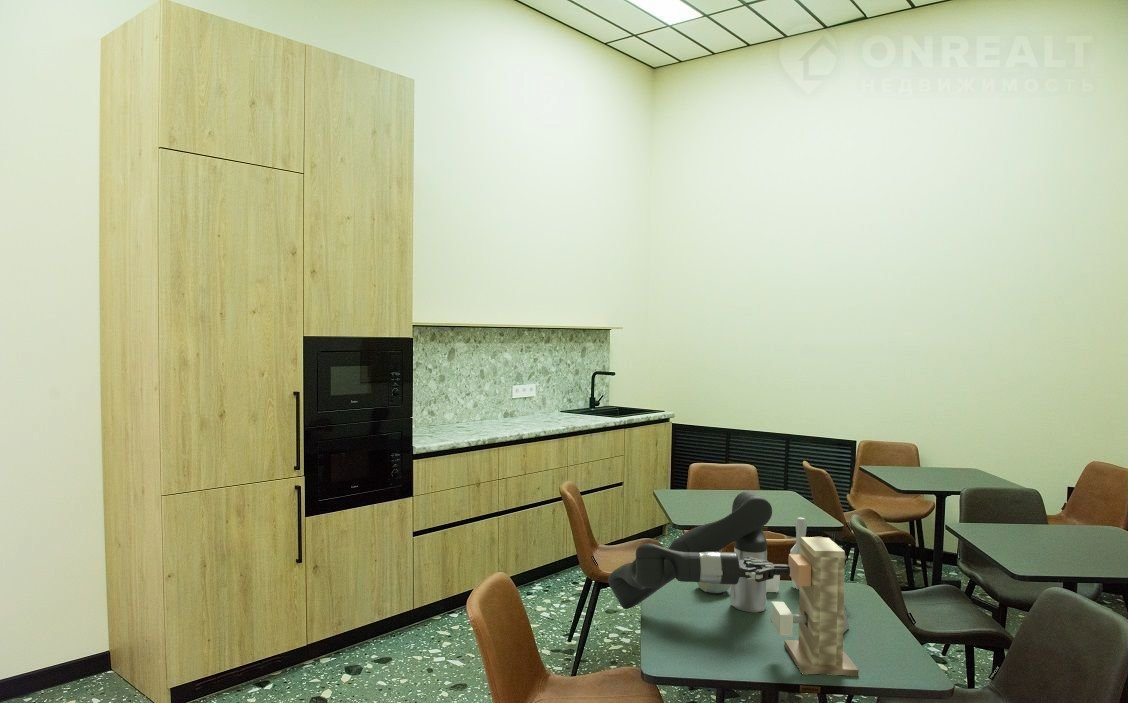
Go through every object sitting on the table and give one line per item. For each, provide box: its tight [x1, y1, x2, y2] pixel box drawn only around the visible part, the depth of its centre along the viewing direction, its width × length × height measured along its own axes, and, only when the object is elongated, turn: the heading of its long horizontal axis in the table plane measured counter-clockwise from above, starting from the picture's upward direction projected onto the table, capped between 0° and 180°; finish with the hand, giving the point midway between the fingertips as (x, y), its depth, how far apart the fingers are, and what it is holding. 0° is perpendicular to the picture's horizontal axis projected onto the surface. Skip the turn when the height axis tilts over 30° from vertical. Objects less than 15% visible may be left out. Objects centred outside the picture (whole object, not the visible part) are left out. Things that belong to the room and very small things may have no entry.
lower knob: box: [770, 601, 808, 637], centre depth 178 cm, size 8×9×5 cm
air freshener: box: [696, 582, 731, 594], centre depth 227 cm, size 11×8×10 cm
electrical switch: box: [843, 606, 850, 634], centre depth 197 cm, size 9×5×9 cm, turn 141°
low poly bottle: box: [789, 516, 808, 590], centre depth 231 cm, size 6×6×22 cm
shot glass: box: [766, 575, 781, 593], centre depth 229 cm, size 7×7×7 cm
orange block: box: [788, 553, 811, 586], centre depth 178 cm, size 8×9×5 cm
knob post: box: [783, 536, 860, 677], centre depth 178 cm, size 13×16×28 cm
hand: (789, 570), depth 178 cm, fingers closed
